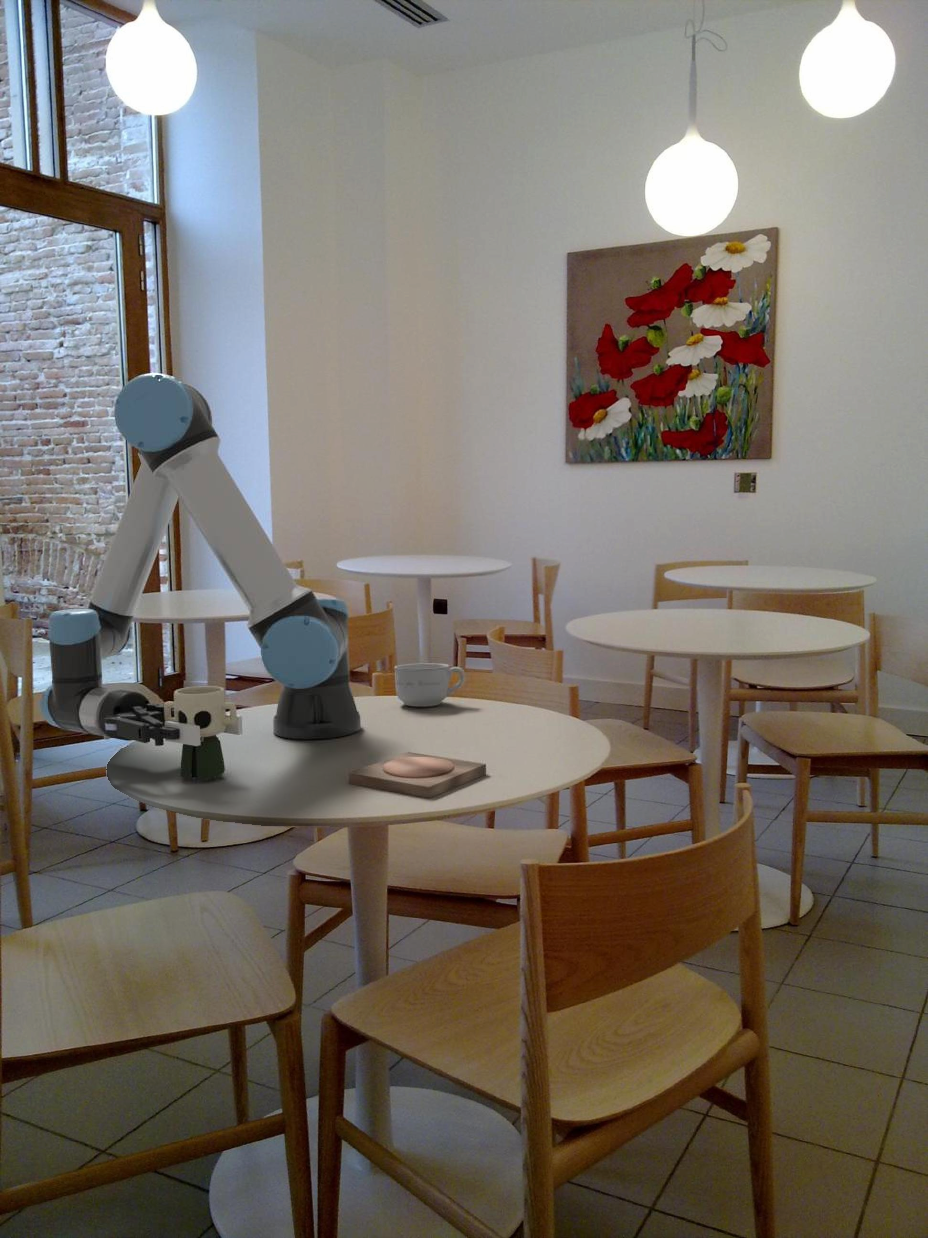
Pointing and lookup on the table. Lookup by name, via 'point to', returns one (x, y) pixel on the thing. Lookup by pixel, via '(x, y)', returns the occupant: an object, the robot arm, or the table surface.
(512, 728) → the table surface
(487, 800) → the table surface
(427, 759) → the walnut board
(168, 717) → the character mug
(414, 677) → the teacup
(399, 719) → the table surface
